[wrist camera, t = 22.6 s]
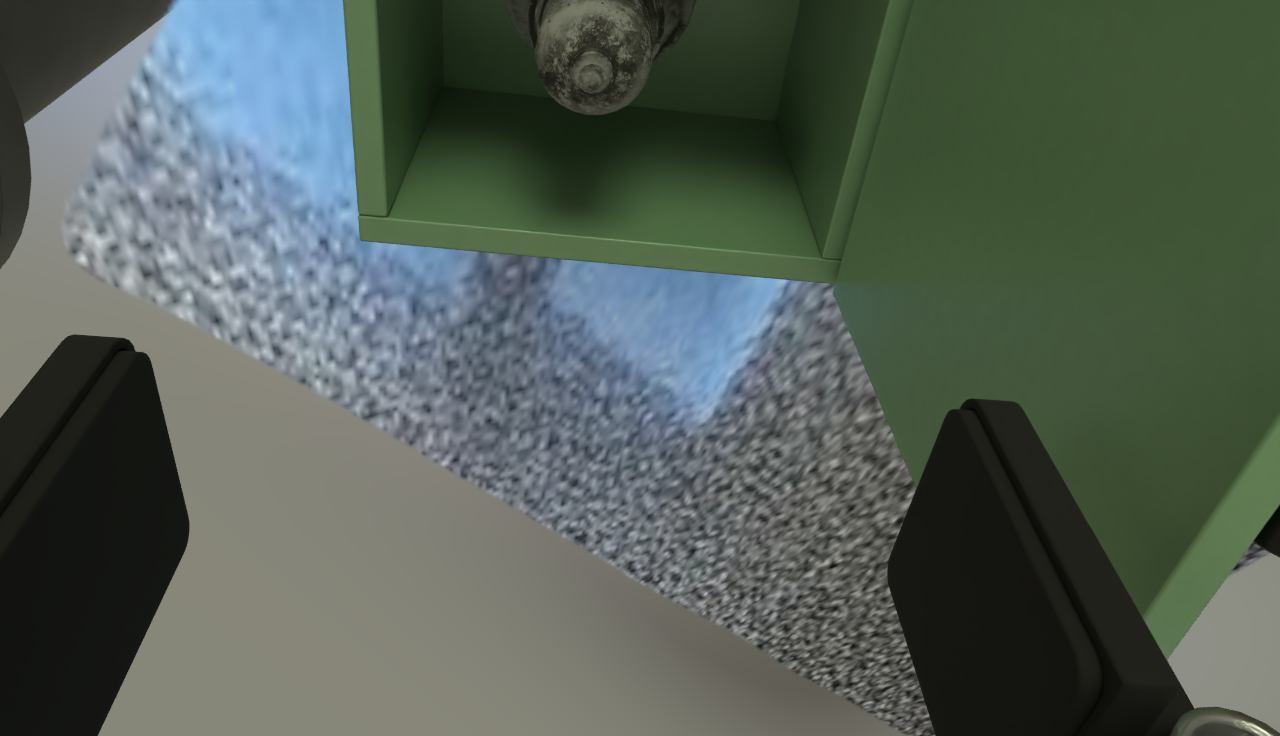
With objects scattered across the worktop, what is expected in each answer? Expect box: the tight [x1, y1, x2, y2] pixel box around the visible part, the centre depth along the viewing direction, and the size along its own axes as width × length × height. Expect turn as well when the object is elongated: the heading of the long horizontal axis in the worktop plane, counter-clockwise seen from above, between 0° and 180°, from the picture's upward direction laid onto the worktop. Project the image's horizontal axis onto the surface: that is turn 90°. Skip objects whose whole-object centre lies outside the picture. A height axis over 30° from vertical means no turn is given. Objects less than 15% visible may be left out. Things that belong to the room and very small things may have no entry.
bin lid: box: [833, 0, 1280, 660], centre depth 18 cm, size 14×12×5 cm
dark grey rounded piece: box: [504, 0, 696, 115], centre depth 26 cm, size 6×6×12 cm
